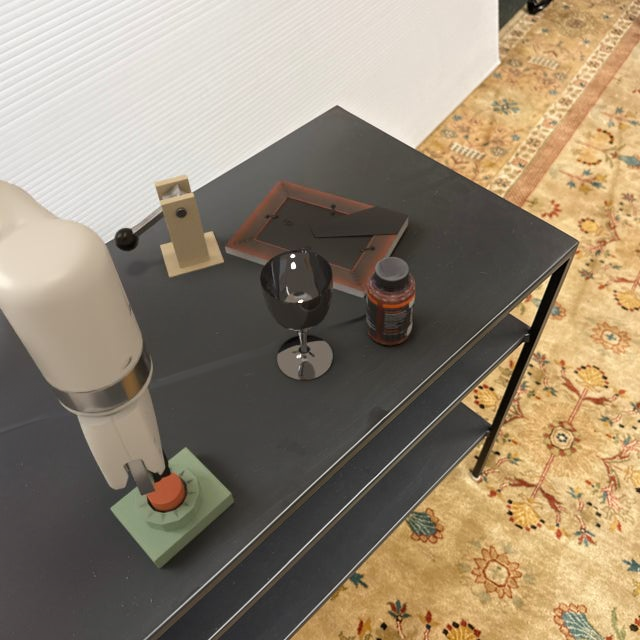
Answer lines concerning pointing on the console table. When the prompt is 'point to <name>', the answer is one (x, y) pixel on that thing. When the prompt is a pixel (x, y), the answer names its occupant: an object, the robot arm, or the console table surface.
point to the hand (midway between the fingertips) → (153, 473)
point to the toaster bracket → (185, 231)
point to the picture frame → (320, 232)
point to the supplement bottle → (390, 302)
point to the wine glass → (299, 309)
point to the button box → (174, 510)
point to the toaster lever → (143, 224)
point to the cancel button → (167, 493)
